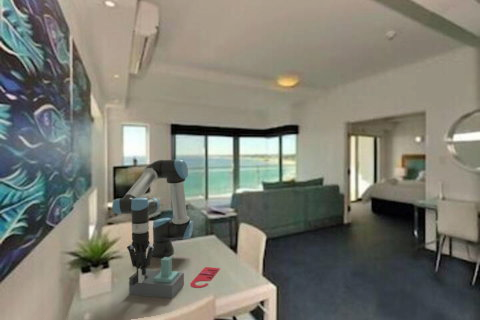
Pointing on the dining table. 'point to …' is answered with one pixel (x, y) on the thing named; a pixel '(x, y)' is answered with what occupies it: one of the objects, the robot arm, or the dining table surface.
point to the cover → (166, 271)
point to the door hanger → (204, 276)
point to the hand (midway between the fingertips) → (141, 281)
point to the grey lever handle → (134, 279)
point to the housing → (157, 286)
